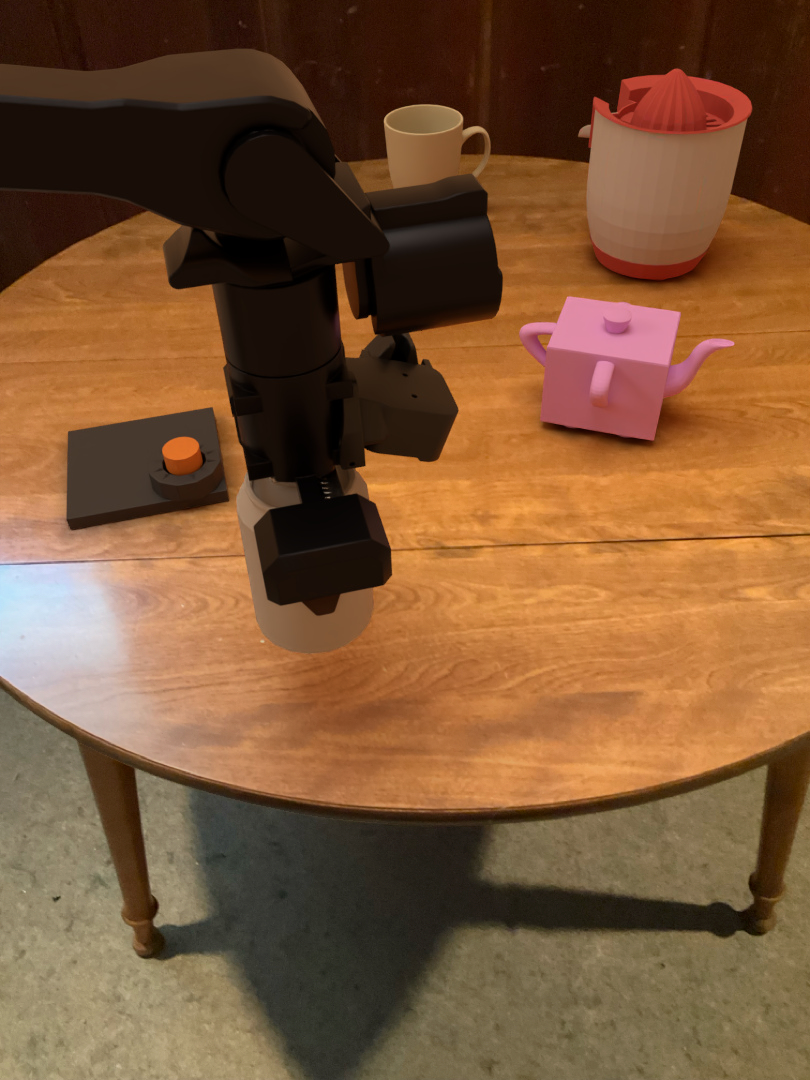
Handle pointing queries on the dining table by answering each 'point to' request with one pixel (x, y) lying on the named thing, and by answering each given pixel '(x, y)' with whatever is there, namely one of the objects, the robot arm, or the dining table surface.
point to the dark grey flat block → (140, 469)
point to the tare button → (182, 456)
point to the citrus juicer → (662, 171)
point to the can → (296, 621)
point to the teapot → (611, 365)
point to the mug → (427, 144)
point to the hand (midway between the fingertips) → (313, 566)
